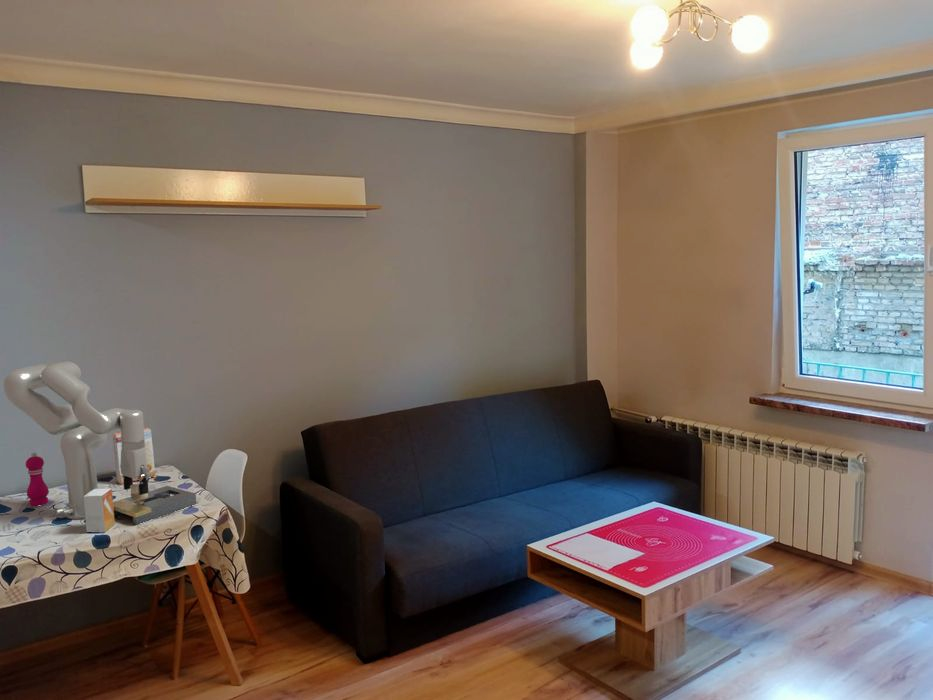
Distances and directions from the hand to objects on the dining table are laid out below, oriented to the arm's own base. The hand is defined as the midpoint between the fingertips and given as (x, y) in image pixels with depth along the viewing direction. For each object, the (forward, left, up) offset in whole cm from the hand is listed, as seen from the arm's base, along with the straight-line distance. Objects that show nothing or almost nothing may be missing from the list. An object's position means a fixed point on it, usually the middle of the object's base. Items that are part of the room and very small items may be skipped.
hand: (136, 491), depth 264 cm
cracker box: (+24, +40, -9) cm, 48 cm away
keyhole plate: (+6, -1, -9) cm, 10 cm away
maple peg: (+1, 0, -9) cm, 9 cm away
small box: (-14, -2, -9) cm, 17 cm away
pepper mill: (-13, +44, -9) cm, 47 cm away
